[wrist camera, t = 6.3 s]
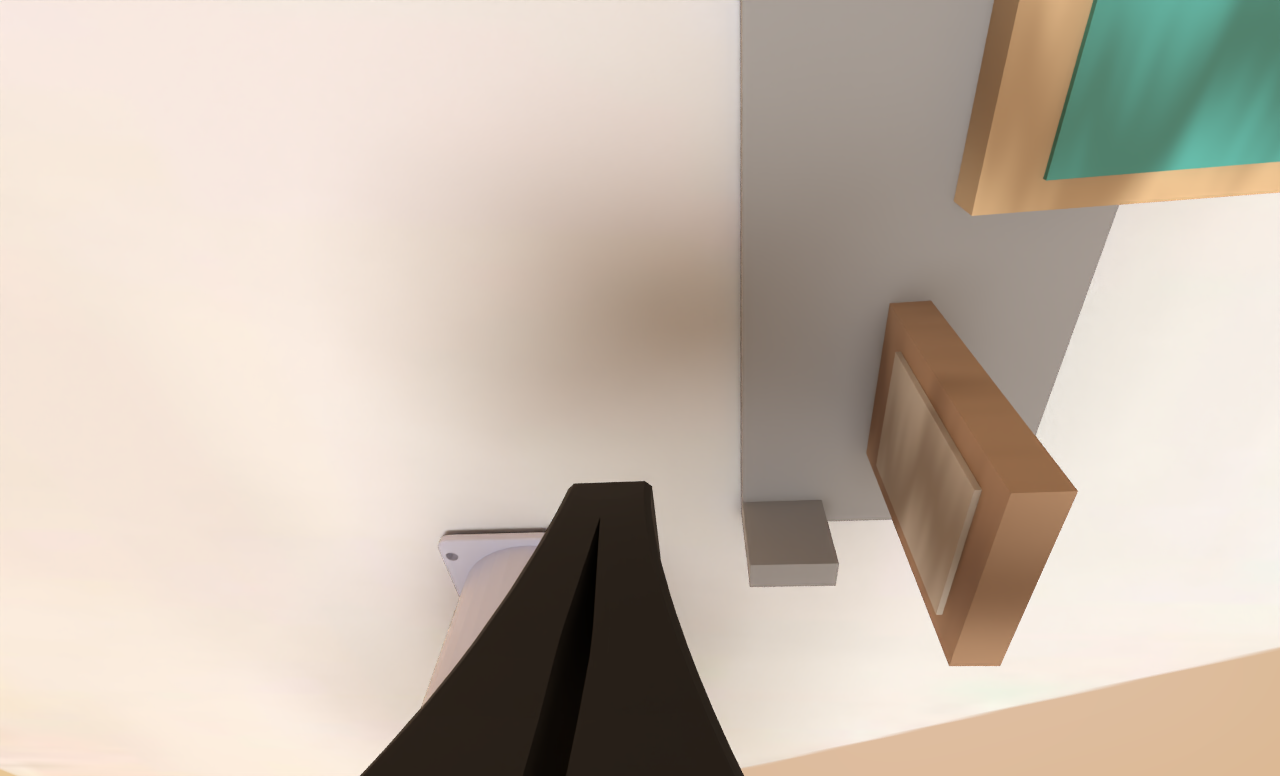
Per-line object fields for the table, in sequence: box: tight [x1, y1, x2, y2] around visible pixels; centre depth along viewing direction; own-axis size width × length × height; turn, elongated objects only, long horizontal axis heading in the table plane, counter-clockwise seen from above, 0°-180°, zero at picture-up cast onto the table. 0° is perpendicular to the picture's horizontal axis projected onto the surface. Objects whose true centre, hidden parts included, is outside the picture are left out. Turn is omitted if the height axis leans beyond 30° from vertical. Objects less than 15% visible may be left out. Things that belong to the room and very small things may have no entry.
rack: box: [741, 0, 1119, 587], centre depth 16 cm, size 22×10×4 cm, turn 6°
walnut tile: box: [866, 301, 1078, 666], centre depth 16 cm, size 6×1×8 cm, turn 6°
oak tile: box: [954, 0, 1280, 216], centre depth 13 cm, size 6×1×8 cm
